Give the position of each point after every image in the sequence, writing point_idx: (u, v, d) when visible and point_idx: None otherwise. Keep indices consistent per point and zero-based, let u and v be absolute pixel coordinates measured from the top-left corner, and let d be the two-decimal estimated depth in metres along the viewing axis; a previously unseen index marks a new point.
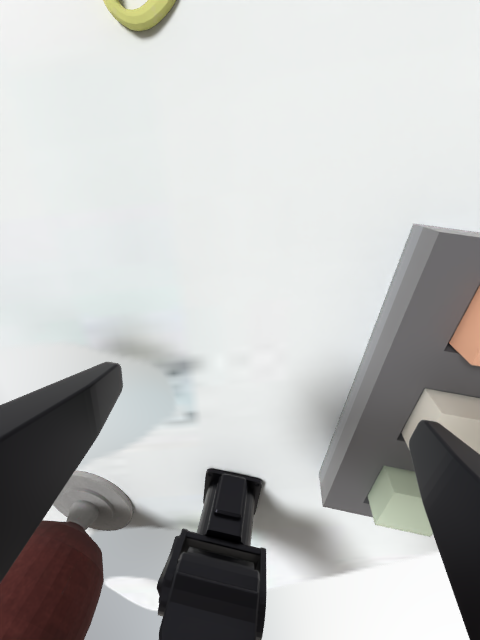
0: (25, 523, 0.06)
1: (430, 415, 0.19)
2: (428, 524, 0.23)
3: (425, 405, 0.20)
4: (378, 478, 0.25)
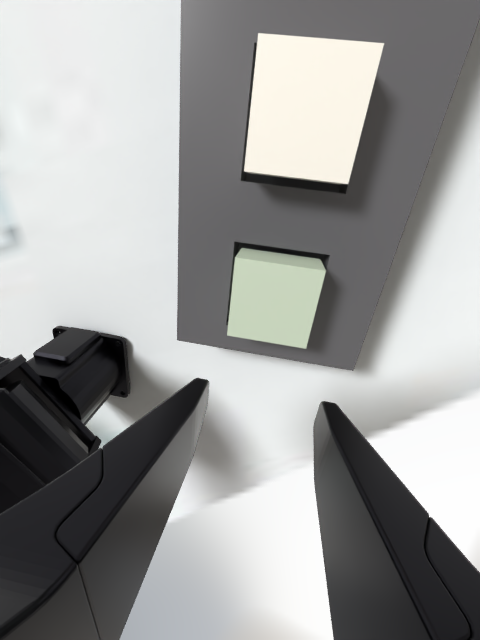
0: (148, 552, 0.06)
1: None
2: (297, 322, 0.15)
3: None
4: None
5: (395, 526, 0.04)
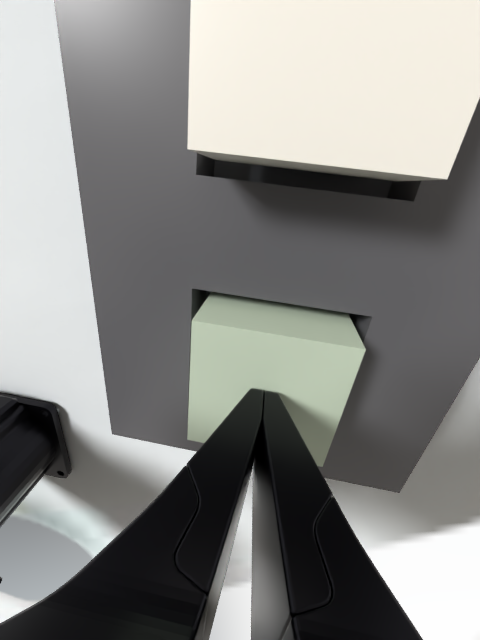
0: (224, 570, 0.06)
1: None
2: (309, 428, 0.09)
3: None
4: None
5: (293, 504, 0.05)
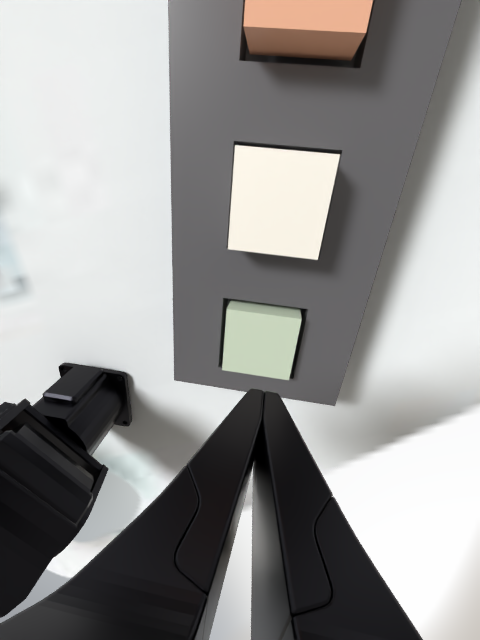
0: (224, 570, 0.06)
1: None
2: (280, 359, 0.18)
3: None
4: None
5: (293, 504, 0.05)
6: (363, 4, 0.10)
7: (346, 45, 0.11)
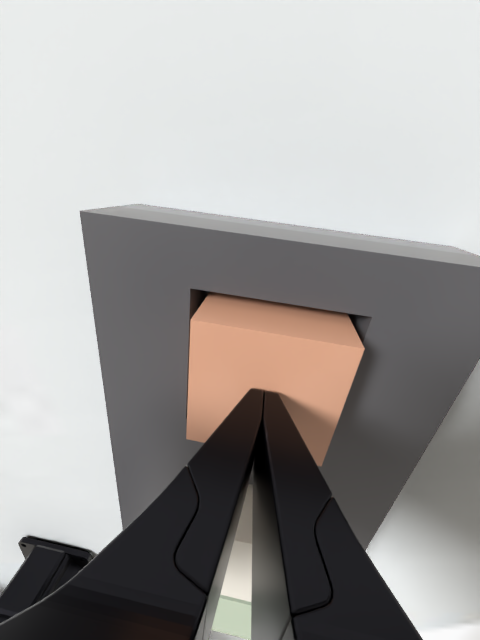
0: (224, 570, 0.06)
1: None
2: (244, 627, 0.17)
3: None
4: None
5: (293, 504, 0.05)
6: (317, 450, 0.09)
7: None
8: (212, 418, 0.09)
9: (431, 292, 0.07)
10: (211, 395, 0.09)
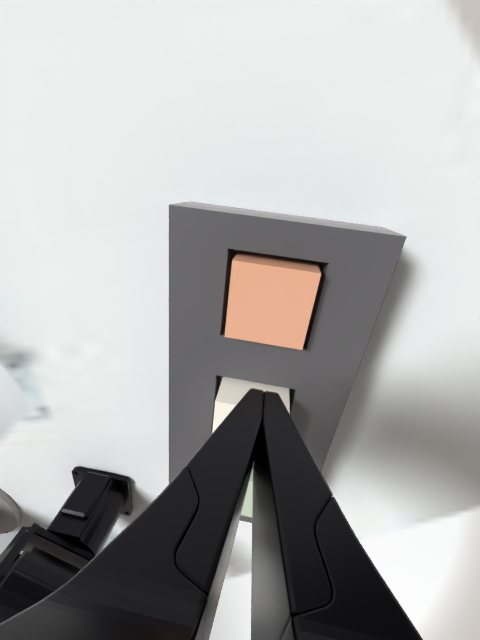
0: (224, 570, 0.06)
1: None
2: None
3: None
4: None
5: (293, 504, 0.05)
6: (299, 338, 0.16)
7: None
8: (240, 321, 0.16)
9: (358, 247, 0.14)
10: (240, 306, 0.16)
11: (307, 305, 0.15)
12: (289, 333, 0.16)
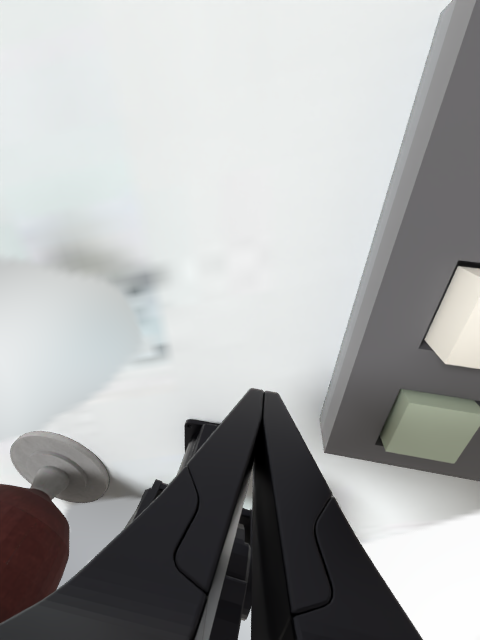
0: (224, 570, 0.06)
1: (468, 294, 0.14)
2: (452, 446, 0.19)
3: (460, 286, 0.14)
4: None
5: (293, 504, 0.05)
6: None
7: None
8: None
9: None
10: None
11: None
12: None
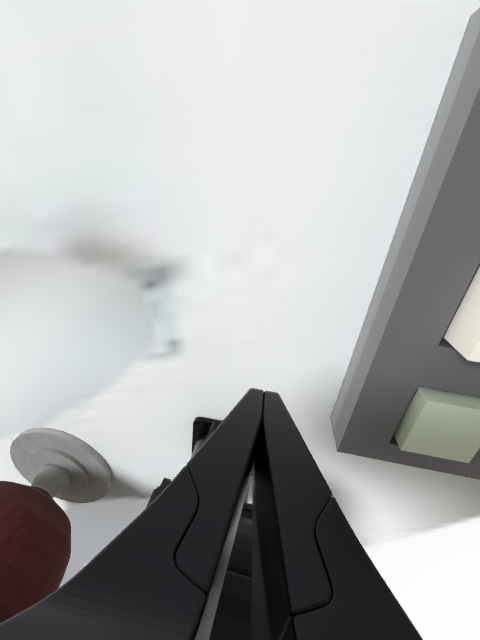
0: (224, 570, 0.06)
1: None
2: (467, 445, 0.19)
3: None
4: None
5: (293, 504, 0.05)
6: None
7: None
8: None
9: None
10: None
11: None
12: None
